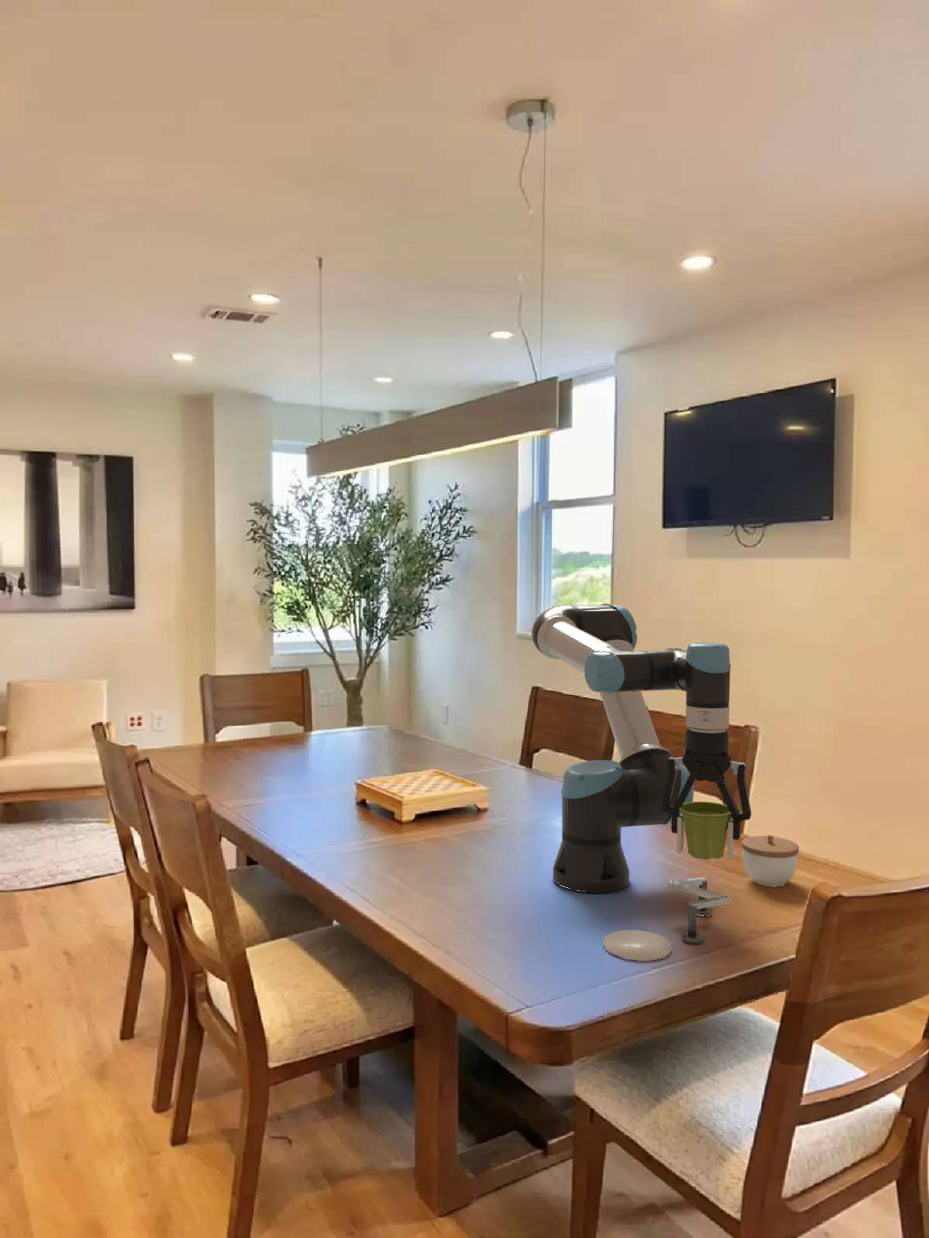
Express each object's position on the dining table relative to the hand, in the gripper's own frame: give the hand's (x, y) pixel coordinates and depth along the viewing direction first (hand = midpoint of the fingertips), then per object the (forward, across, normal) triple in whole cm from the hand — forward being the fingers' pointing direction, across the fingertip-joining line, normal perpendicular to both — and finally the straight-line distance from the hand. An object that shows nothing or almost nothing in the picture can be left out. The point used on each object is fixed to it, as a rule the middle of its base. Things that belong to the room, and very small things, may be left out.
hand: (705, 853), depth 164 cm
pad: (+11, -8, -20) cm, 24 cm away
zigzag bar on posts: (+11, 0, -7) cm, 13 cm away
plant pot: (0, 0, 0) cm, 0 cm away
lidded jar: (+11, +10, +21) cm, 26 cm away
